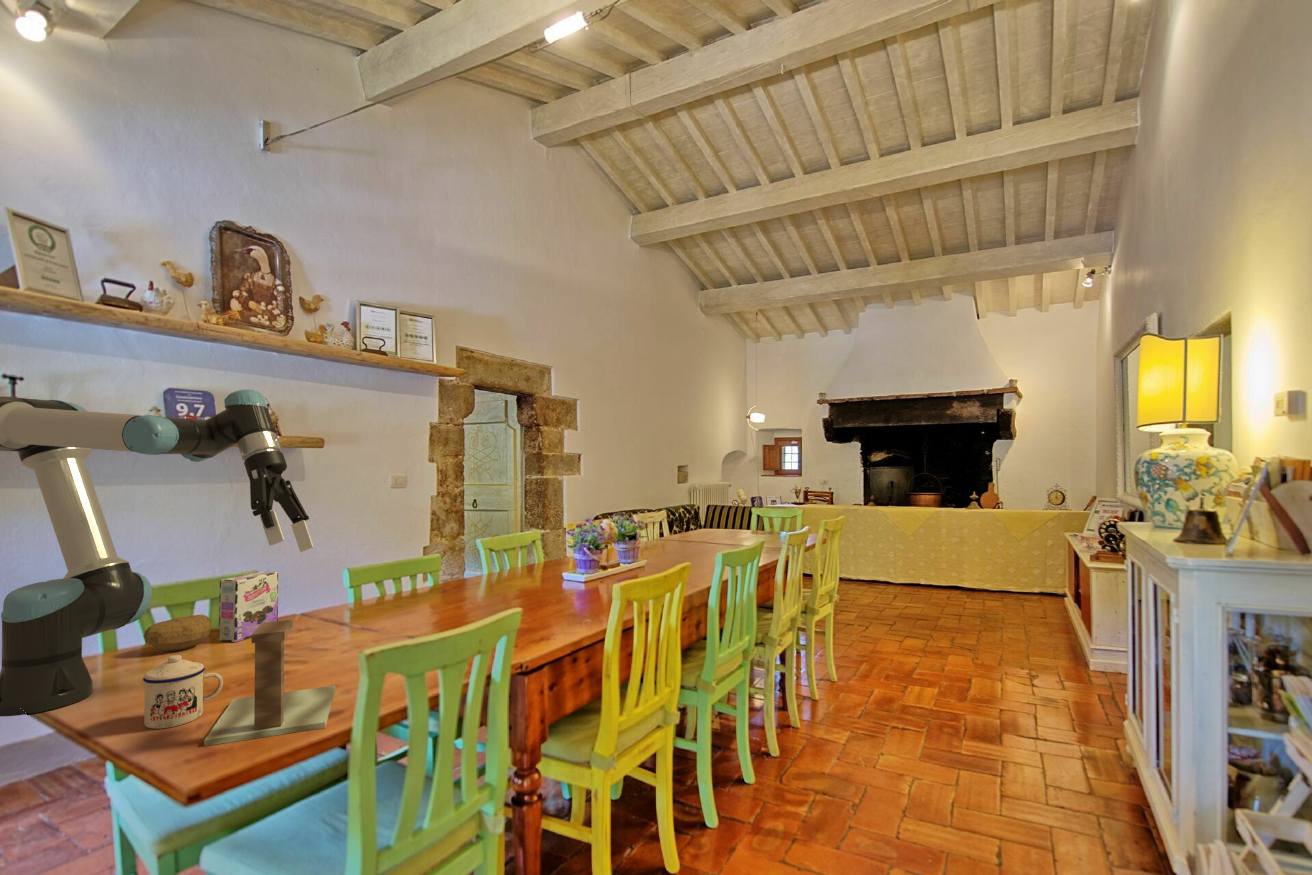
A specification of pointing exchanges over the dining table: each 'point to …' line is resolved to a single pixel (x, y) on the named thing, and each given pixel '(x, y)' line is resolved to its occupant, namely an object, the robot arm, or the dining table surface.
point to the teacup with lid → (175, 693)
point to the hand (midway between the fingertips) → (292, 546)
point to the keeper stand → (272, 696)
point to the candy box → (247, 604)
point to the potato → (178, 633)
